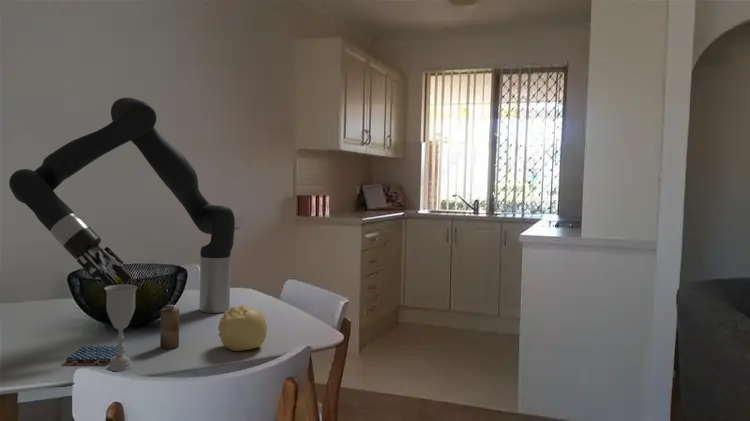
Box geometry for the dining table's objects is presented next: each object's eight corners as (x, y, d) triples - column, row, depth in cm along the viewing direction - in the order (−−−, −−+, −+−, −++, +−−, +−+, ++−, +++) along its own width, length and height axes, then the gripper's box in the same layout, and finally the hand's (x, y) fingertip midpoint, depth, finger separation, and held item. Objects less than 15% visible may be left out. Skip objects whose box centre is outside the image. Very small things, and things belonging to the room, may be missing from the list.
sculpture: (217, 342, 155) (218, 301, 154) (264, 340, 158) (265, 300, 157) (218, 355, 144) (219, 311, 143) (268, 353, 147) (269, 310, 146)
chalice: (110, 361, 136) (111, 284, 135) (141, 362, 137) (142, 284, 136) (98, 372, 129) (99, 290, 128) (130, 372, 130) (131, 291, 128)
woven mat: (62, 367, 133) (62, 358, 133) (81, 353, 143) (81, 344, 143) (110, 367, 134) (110, 358, 134) (126, 353, 144) (126, 345, 144)
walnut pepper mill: (163, 344, 151) (164, 303, 151) (180, 344, 151) (181, 303, 151) (157, 349, 147) (158, 307, 146) (175, 349, 147) (176, 307, 146)
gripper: (73, 228, 139) (122, 278, 140) (99, 223, 154) (143, 268, 155) (50, 249, 139) (99, 299, 141) (78, 243, 154) (122, 288, 155)
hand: (122, 283), depth 148 cm, fingers open, 8 cm apart
